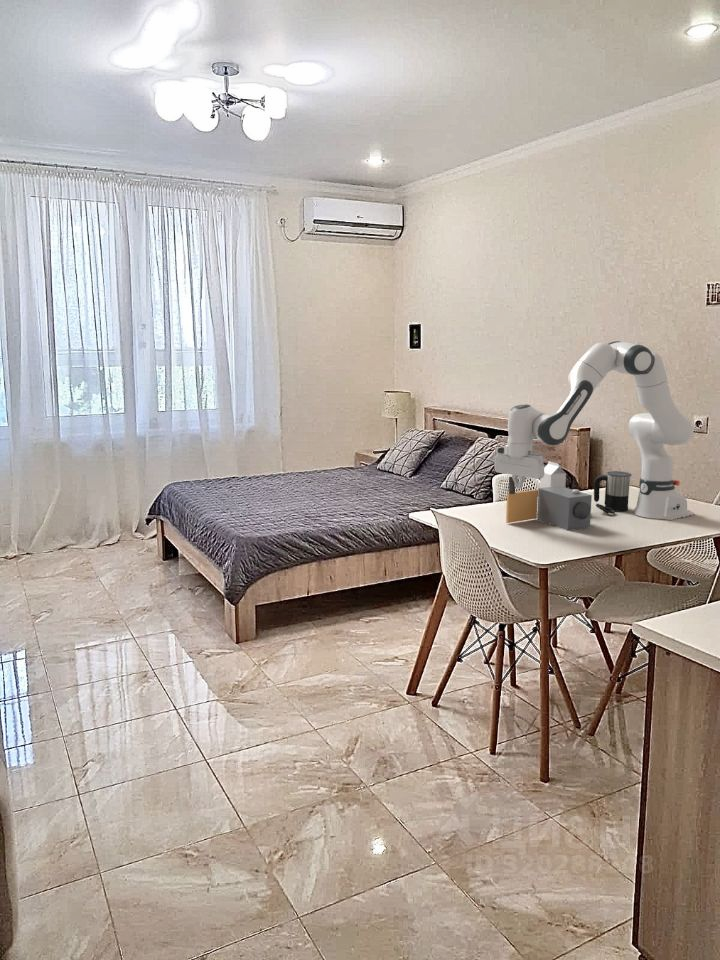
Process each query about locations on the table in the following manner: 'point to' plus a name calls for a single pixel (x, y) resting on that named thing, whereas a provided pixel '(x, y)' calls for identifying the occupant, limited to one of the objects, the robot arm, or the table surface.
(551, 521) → the camera body
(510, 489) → the tan flat panel
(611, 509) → the milk frother
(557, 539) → the table surface
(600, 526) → the table surface
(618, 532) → the table surface
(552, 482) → the milk carton
